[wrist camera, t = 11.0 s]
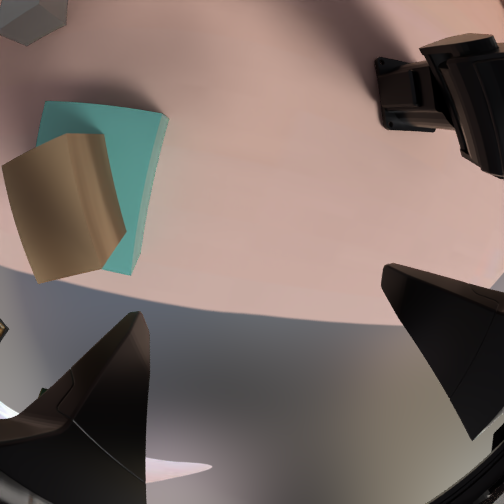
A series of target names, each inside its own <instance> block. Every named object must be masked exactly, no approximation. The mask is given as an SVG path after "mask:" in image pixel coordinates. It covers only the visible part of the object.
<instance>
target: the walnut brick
mask: <svg viewBox="0 0 504 504" xmlns="http://www.w3.org/2000/svg"><path fill="white" fill-rule="evenodd" d="M2 171H3V176H4V181H5V185H6V190H7V194H8V198H9V202H10V206H11V210H12V213H13V217H14V220H15V224H16V227H17V230H18V233H19V236H20V239H21V242H22V245H23V248H24V250H25V253H26V256H27V258H28V261H29V263H30V266H31V268H32V271H33V273H34V276H35V278H36V280H37V282H38V284H40V283H44V282H48V281H52V280H56V279H60V278H65V277H69V276H73V275H77V274H82V273H86V272H90V271H95V270H99V269H102V268H103V266H104V265H105V263H106V262H107V260H108V259H109V257H110V256H111V254H112V253H113V251H114V250H115V248H116V247H117V245H118V244H119V242H120V241H121V239H122V238H123V237H124V235H125V234H126V232H127V231H126V227H125V224H124V220H123V217H122V213H121V209H120V205H119V202H118V198H117V194H116V189H115V185H114V181H113V177H112V172H111V167H110V163H109V158H108V153H107V147H106V142H105V136H104V134H79V133H66V134H64V135H61V136H59V137H57V138H54V139H52V140H50V141H48V142H46V143H44V144H42V145H40V146H38V147H36V148H34V149H32V150H30V151H28V152H26V153H24V154H22V155H20V156H18V157H16V158H15V159H13V160H11V161H9V162H8V163H6V164H4V165H2Z"/></svg>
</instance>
